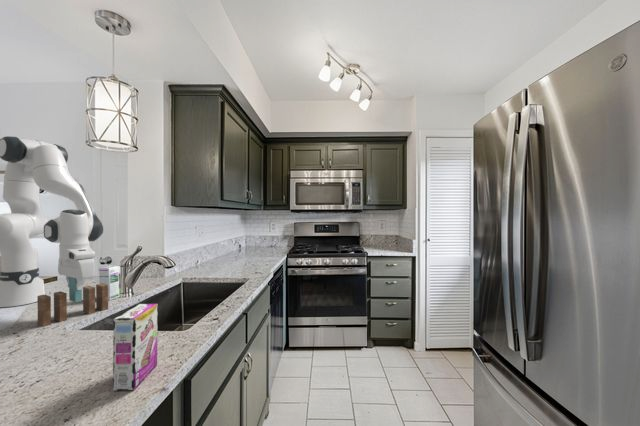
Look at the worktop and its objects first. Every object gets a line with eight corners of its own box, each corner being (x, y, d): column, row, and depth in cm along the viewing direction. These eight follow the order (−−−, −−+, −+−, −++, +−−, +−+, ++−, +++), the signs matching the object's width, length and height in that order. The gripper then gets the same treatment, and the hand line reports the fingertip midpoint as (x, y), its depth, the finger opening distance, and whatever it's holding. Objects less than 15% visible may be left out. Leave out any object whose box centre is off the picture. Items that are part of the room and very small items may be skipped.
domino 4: (89, 314, 113) (89, 288, 112) (83, 312, 115) (82, 286, 115) (95, 312, 114) (95, 287, 114) (89, 310, 117) (88, 285, 117)
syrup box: (109, 300, 129) (109, 268, 129) (98, 299, 131) (98, 267, 130) (120, 296, 135) (120, 265, 135) (110, 296, 136) (110, 265, 136)
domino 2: (59, 322, 105) (59, 294, 105) (54, 319, 107) (53, 292, 107) (66, 320, 106) (66, 293, 106) (60, 317, 109) (60, 291, 109)
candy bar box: (135, 391, 65) (135, 318, 65) (112, 392, 65) (111, 319, 64) (159, 364, 76) (158, 302, 76) (139, 365, 76) (138, 303, 76)
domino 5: (102, 310, 117) (102, 285, 116) (96, 308, 119) (96, 284, 119) (108, 309, 118) (107, 284, 118) (101, 307, 121) (101, 283, 121)
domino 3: (75, 298, 113) (75, 273, 113) (81, 300, 110) (81, 274, 110) (69, 300, 111) (68, 274, 111) (75, 302, 109) (74, 275, 108)
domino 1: (43, 326, 101) (43, 297, 101) (37, 323, 103) (37, 295, 103) (51, 324, 103) (50, 296, 102) (45, 321, 105) (44, 294, 105)
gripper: (52, 251, 113) (52, 286, 113) (77, 255, 103) (77, 294, 103) (72, 249, 118) (72, 283, 118) (97, 253, 108) (98, 289, 109)
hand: (75, 288), depth 111 cm, fingers closed on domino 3, 5 cm apart
